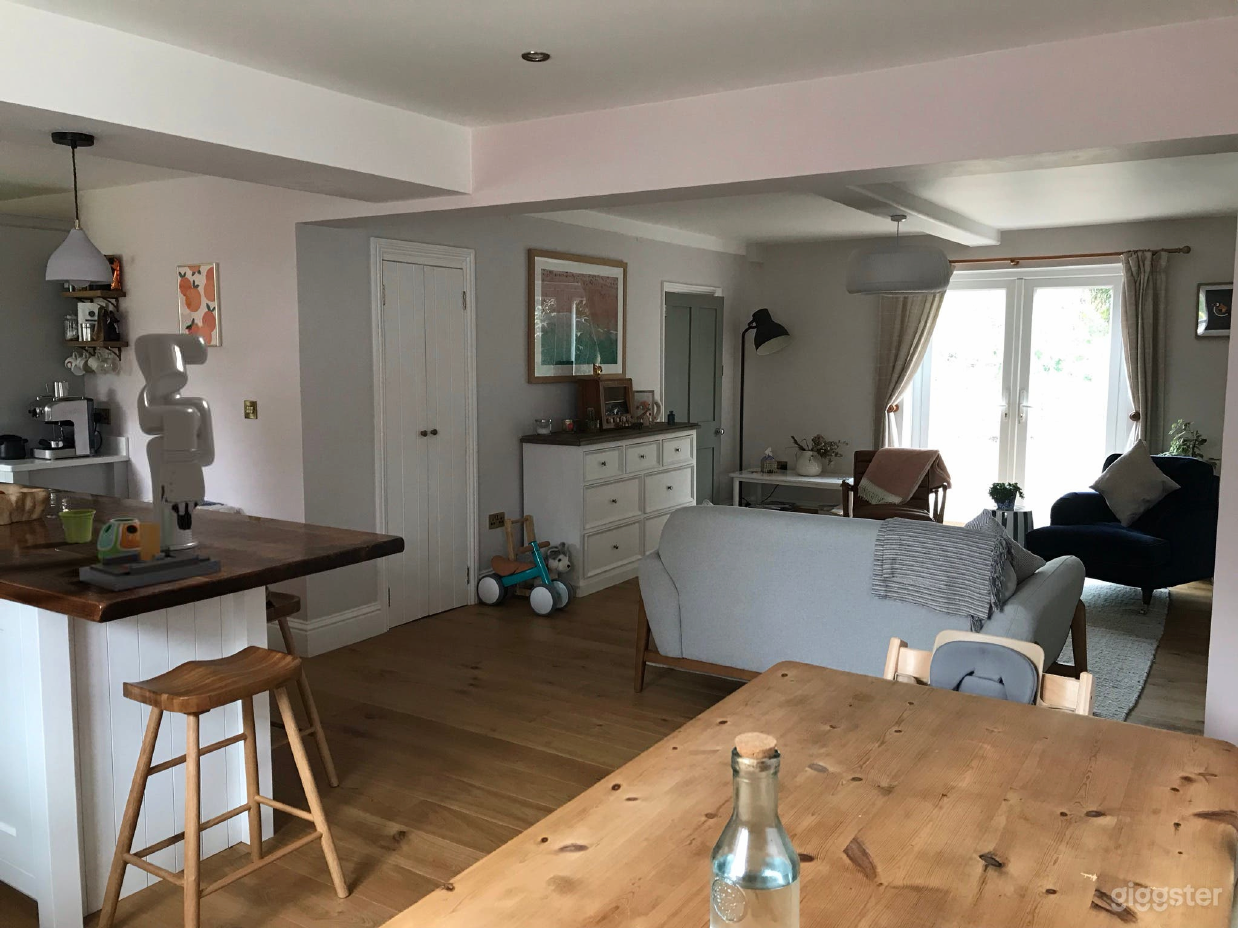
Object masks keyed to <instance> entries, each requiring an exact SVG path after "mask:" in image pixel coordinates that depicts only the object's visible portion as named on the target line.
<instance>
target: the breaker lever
mask: <svg viewBox="0 0 1238 928" xmlns="http://www.w3.org/2000/svg"><path fill="white" fill-rule="evenodd" d="M139 531H140V549H141V559H142V560H146V561H150V562H153V554H158V553H160V534H159V524H156V523H154V522H151V521H146V522H140V523H139Z"/></svg>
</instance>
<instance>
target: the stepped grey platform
mask: <svg viewBox="0 0 1238 928" xmlns="http://www.w3.org/2000/svg"><path fill="white" fill-rule="evenodd" d="M170 552H171V550H170V547H168V546H164V547H160V553H165V554H167V553H170ZM199 555H200V554H198V555H189V556H183V557H177V558H171V559H165V560H159V561H153V562H147V563H141V564H136V565H130V575H133V576H136V575H142V574H147V573H153V572H159V571H164V570H170V569H175V568H181V567H187V566H192V565H198V564H199ZM133 561H137V551H132V552H126V553H120V554H113V555H107V556H103V558H102V563H106V564H107V563H116V564H121V563H127V562H133Z"/></svg>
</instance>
